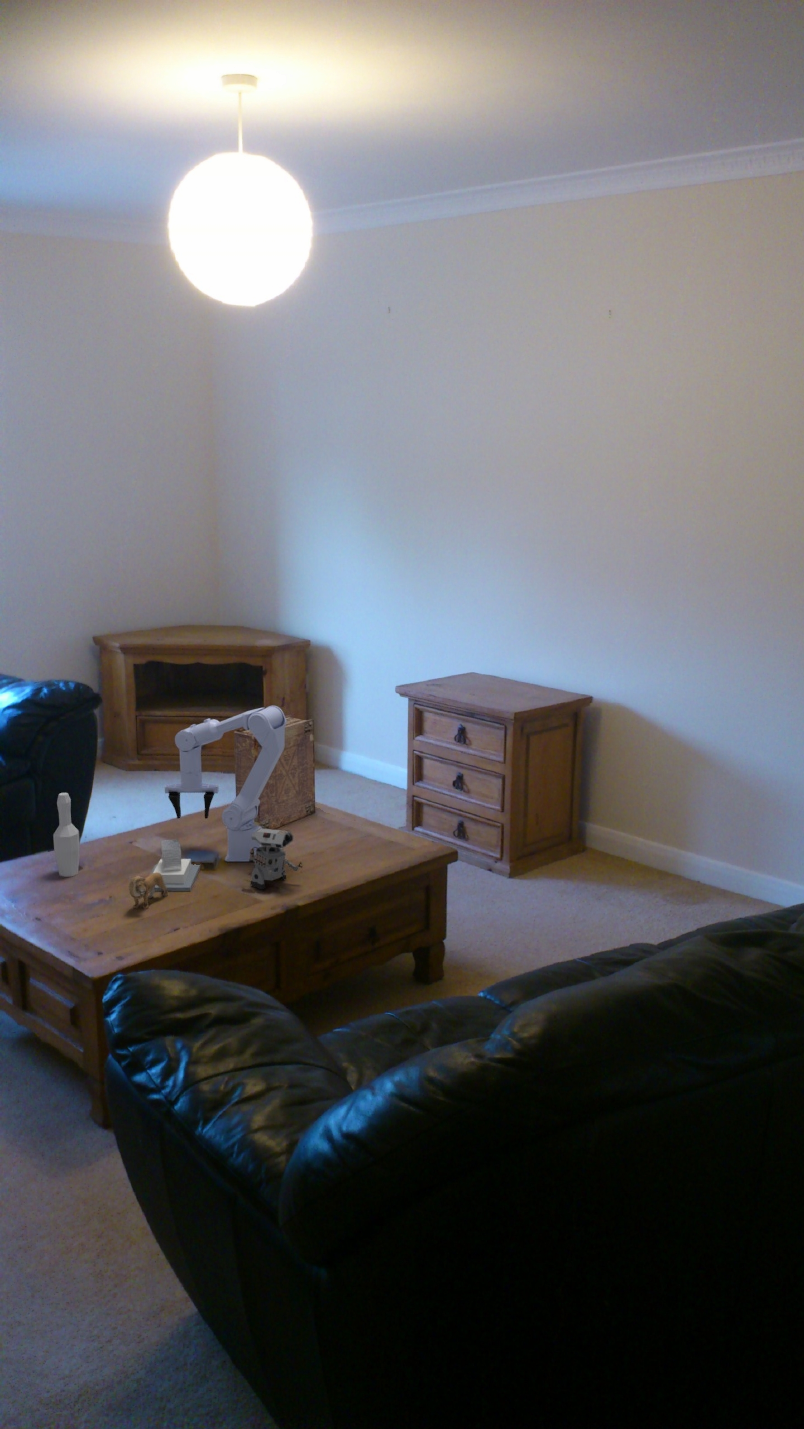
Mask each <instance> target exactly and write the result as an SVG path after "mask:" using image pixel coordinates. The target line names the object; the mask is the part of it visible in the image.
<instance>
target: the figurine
mask: <svg viewBox="0 0 804 1429" xmlns="http://www.w3.org/2000/svg"><path fill="white" fill-rule="evenodd" d="M294 837H295V836H294V834H293V833H291V831H290V830H288V829H287V830H280V829H274V830H272V829H262V828H260V829H258V830H257V831H255V832H254V833H253V834H252V835H251V838H252V840H257V841H258V843H259V844H260V845H261V846H262V847H259V848H257V847H254V848H256V855H254V849H251V851H250V859H249V861H248V862H249V863H250V862H251V863H252V862H254V864H253V869H252V871H251V875H250V877H251V878H250V879H251V880H250V883H249V885H250V886H252V887H254V888H257V889H259V890H264V889H266V883H265V881H275V880H279V881H282V882H284V881H286V880H287V874H286V873H287V872H286V868H285V865H287V867H288V868H291V869H292V870H293V871H295V872H297V871H298V870H299V868H303V863H302V862H301V861H300V862H299V864H298V865H295V864H293V863H292V862H291V861H289V859H288V858H286V854H287V853H286V852H287V851H286V850H285V849H284V848H286V847H287V846H289V845H290V844H291V843H292V842H294ZM253 860H255V861H253Z"/></svg>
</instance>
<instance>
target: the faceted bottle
mask: <svg viewBox="0 0 804 1429" xmlns="http://www.w3.org/2000/svg"><path fill="white" fill-rule="evenodd" d="M71 800H72V799H71V796H70V795H69V793H68V792H61V793H59V794H58V796H57V801H56V805H57V810H58V819H59V820H58V822H59V825H58V827H57V828H56V830H55V832H53V834H52V836H53V848H54V849H53V850H54V855H55V859H56V865H57V870H58V875H59V876H60V877H65V878H67V877H68V878H69V877H73V876H76V875H78V873H79V862H80V849H81V848H80V846H81V845H80V844H81V843H80V831H79V829H78V828H76V827H75V825H74V824H73V823H72V817H71V816H72V815H71V809H72V808H71V807H72V806H71V805H72V803H71V802H72V801H71Z"/></svg>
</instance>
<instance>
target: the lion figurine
mask: <svg viewBox="0 0 804 1429" xmlns="http://www.w3.org/2000/svg"><path fill="white" fill-rule="evenodd" d="M155 885H157V886H158V887H159V888H161V890H162V891H161V892H163V893H162V896H163V897H168V895H169V893H168V892H169V891H167V887H166V886H165V885H164V881H163V877H162V875H161V874H160V873H152V874H150V873H149V875H148V876H147V877H145V878H144V877H141V876H140V875H135V876H134V877H131V878H130V880H129V882H128V890H129V895H130V896H131V897H132V898H133V900H134V904H133V908H135V909H137V908H139V905H140V904H139V903H140V902H139V899H142V898H143V909H149V903H148V902H149V899H152V898H153V897H154V894H155V892H156V891H155ZM163 890H164V891H163ZM149 893H150V894H149Z"/></svg>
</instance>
